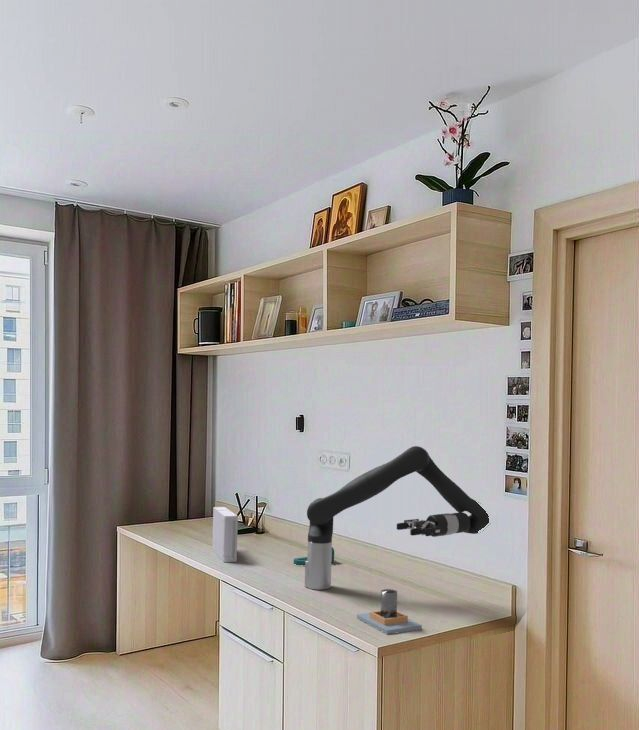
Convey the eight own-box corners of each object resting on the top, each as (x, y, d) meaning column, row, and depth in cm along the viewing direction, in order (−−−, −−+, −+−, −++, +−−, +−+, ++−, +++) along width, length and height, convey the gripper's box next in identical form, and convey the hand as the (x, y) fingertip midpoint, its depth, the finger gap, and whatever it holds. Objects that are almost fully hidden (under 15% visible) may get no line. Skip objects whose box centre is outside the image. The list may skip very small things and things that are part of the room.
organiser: (356, 618, 239) (356, 608, 240) (390, 613, 245) (390, 604, 246) (386, 634, 224) (386, 624, 224) (421, 629, 230) (421, 619, 230)
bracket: (326, 559, 326) (326, 542, 327) (334, 563, 320) (334, 544, 321) (290, 563, 317) (291, 545, 317) (298, 567, 311) (298, 548, 312)
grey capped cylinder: (378, 620, 233) (378, 591, 234) (384, 616, 238) (384, 587, 238) (393, 623, 231) (394, 593, 232) (399, 618, 236) (399, 589, 236)
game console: (223, 562, 315) (224, 516, 316) (211, 550, 341) (212, 507, 342) (236, 562, 317) (237, 516, 318) (223, 549, 343) (225, 506, 344)
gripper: (430, 510, 264) (392, 514, 257) (455, 518, 252) (415, 523, 244) (430, 530, 264) (392, 535, 257) (454, 540, 252) (415, 545, 244)
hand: (403, 529), depth 251 cm, fingers open, 8 cm apart
